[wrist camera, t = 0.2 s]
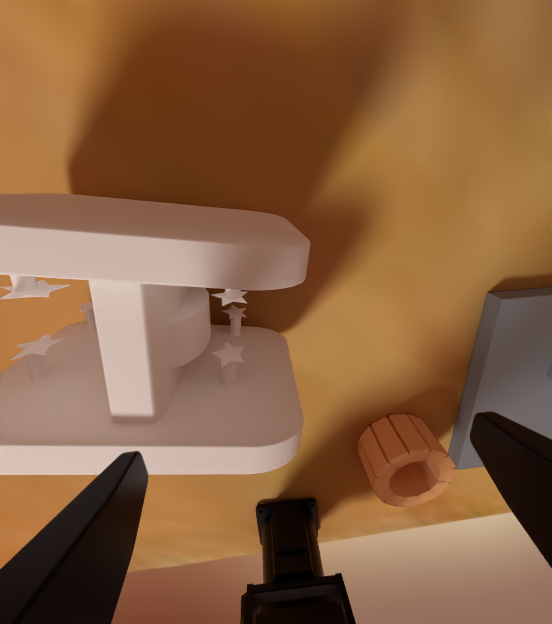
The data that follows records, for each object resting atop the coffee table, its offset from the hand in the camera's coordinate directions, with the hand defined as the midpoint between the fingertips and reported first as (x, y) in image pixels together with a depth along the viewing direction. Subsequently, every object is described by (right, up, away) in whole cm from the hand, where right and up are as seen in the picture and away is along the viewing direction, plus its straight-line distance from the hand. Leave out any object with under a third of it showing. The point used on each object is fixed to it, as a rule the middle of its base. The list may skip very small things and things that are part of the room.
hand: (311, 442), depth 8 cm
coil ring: (+11, -9, +20) cm, 25 cm away
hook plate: (+23, -3, +19) cm, 30 cm away
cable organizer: (-8, +6, +13) cm, 16 cm away
